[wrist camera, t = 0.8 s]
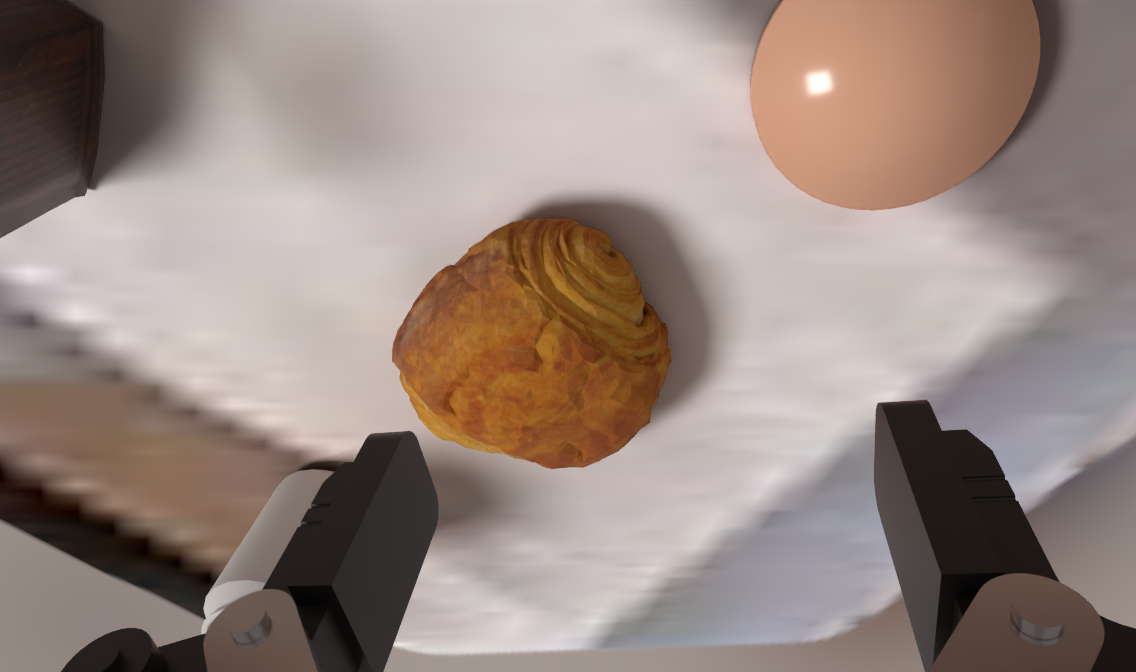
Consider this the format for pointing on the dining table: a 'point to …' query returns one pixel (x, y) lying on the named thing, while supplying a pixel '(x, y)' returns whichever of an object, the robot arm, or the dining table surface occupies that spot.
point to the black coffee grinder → (47, 106)
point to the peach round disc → (890, 93)
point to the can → (264, 542)
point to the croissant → (535, 347)
